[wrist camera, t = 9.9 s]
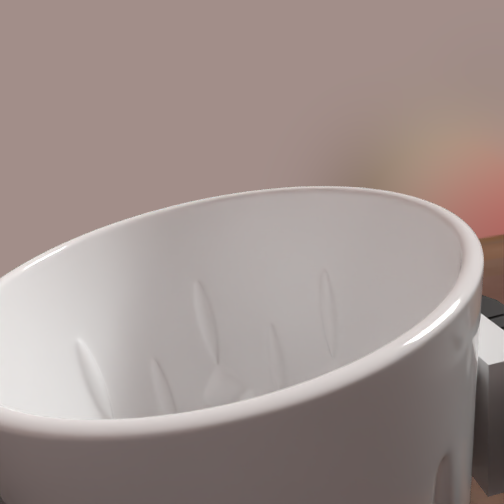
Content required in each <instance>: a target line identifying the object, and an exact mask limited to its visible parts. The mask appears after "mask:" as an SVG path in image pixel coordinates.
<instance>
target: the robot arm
mask: <svg viewBox="0 0 504 504" xmlns="http://www.w3.org/2000/svg"><path fill="white" fill-rule="evenodd" d="M472 476H473V477H474V479H475V480H476V481H477V483H478V484H479V485H480V487H481V488H482V489H483V491H484V492H485V493H486V495H487V496H488V497H489V496H492V495H496V494H500V493H503V492H504V305H503V304H502V303H500V302H499V301H497V300H495V299H492V298H489V297H486V296H483V295H482V303H481V319H480V336H479V353H478V370H477V387H476V405H475V424H474V444H473V463H472ZM0 504H4V502H3V501H2V499H1V497H0Z"/></svg>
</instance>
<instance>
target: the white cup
mask: <svg viewBox="0 0 504 504" xmlns="http://www.w3.org/2000/svg"><path fill="white" fill-rule="evenodd" d="M483 271H484V256H483V250H482V247H481V244H480V241H479V239H478V237H477V236H476V234H475V233H474V231H473V230H472V229H471V228H470V227H469V226H468V225H467V224H466V223H465V222H464V221H463V220H462V219H461V218H459V217H458V216H456V215H455V214H453V213H452V212H450V211H448V210H447V209H445V208H443V207H440V206H439V205H436V204H434V203H431V202H429V201H426V200H423V199H420V198H417V197H413V196H409V195H405V194H401V193H396V192H390V191H385V190H378V189H369V188H358V187H342V186H340V187H339V186H306V187H287V188H275V189H264V190H256V191H248V192H241V193H234V194H229V195H222V196H217V197H211V198H206V199H201V200H196V201H191V202H187V203H183V204H178V205H174V206H170V207H166V208H162V209H159V210H155V211H151V212H148V213H144V214H141V215H138V216H134V217H131V218H128V219H125V220H122V221H119V222H116V223H113V224H110V225H108V226H105V227H102V228H99V229H97V230H94V231H91V232H89V233H87V234H84V235H81V236H79V237H77V238H75V239H72V240H70V241H67V242H65V243H63V244H61V245H58V246H57V247H54V248H52V249H50V250H48V251H46V252H44V253H42V254H40V255H38V256H37V257H34V258H32V259H31V260H29V261H27V262H25V263H24V264H22V265H20V266H18V267H17V268H15V269H13V270H12V271H10V272H9V273H7V274H5V275H4V276H3V277H1V278H0V497H1V499H2V501H3V502H4V504H470V499H471V480H472V463H473V444H474V424H475V405H476V387H477V370H478V353H479V336H480V319H481V303H482V287H483Z"/></svg>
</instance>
